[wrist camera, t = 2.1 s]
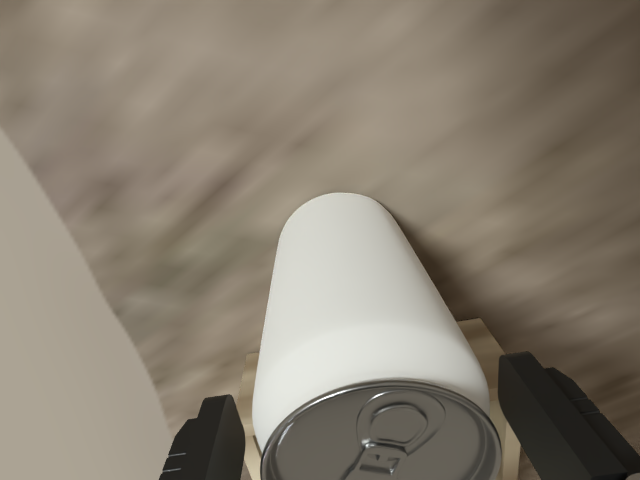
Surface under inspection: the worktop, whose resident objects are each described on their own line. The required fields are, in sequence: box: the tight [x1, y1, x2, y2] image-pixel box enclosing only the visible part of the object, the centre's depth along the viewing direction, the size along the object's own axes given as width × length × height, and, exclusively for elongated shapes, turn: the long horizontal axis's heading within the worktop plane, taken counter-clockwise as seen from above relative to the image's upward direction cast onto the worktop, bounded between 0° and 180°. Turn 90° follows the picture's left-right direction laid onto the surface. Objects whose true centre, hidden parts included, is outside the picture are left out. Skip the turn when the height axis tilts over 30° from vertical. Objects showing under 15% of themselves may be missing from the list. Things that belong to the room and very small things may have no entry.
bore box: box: [236, 318, 521, 480], centre depth 22 cm, size 14×14×5 cm
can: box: [252, 193, 502, 480], centre depth 14 cm, size 6×6×12 cm
